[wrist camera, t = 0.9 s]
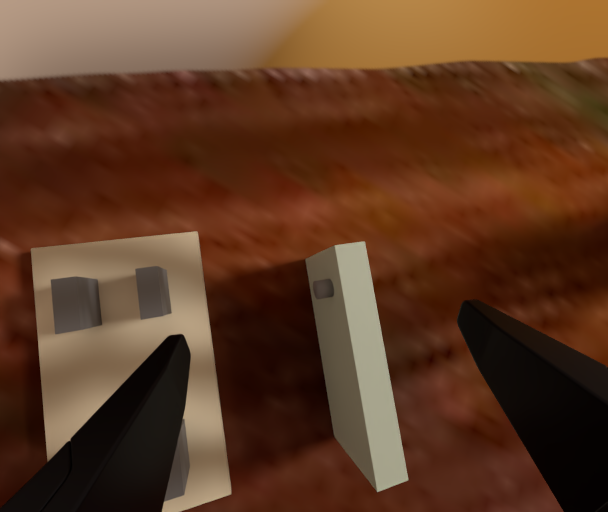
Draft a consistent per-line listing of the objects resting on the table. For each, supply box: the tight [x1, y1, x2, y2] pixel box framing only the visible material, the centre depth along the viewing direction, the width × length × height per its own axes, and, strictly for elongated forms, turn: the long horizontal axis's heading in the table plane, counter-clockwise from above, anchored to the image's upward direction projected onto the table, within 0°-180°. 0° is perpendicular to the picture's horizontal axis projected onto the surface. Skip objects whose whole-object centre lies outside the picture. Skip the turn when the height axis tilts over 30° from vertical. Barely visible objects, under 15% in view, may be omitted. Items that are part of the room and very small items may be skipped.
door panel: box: [305, 242, 408, 492], centre depth 21 cm, size 14×3×7 cm, turn 9°
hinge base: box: [31, 231, 231, 512], centre depth 19 cm, size 18×10×4 cm, turn 9°
